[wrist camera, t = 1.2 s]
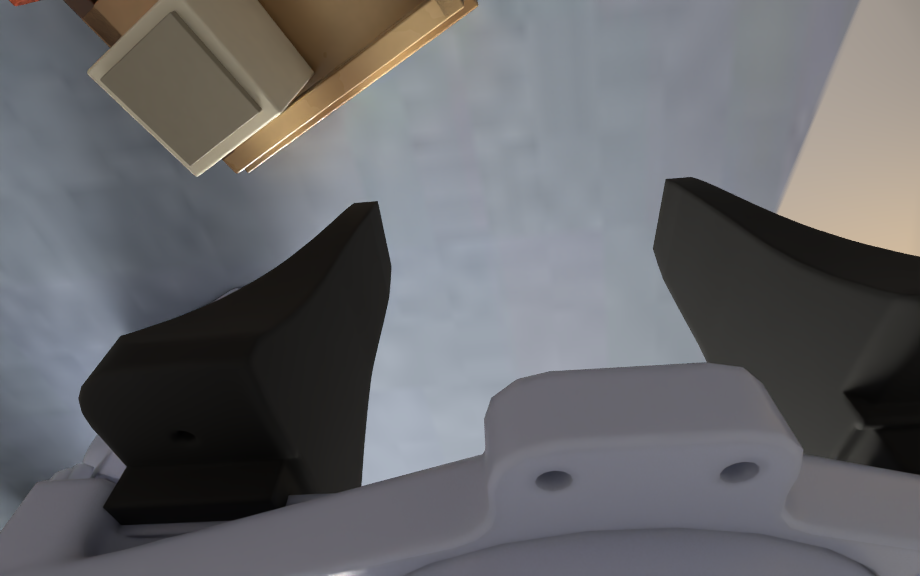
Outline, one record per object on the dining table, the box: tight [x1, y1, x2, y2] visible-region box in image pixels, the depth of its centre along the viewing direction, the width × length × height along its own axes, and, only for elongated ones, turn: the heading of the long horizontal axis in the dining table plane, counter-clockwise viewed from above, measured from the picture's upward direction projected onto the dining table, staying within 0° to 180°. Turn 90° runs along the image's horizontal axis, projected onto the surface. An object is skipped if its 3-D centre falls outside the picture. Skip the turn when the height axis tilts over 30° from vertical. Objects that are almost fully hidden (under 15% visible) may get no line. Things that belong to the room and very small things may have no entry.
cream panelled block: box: [87, 0, 314, 177], centre depth 17 cm, size 4×4×5 cm
